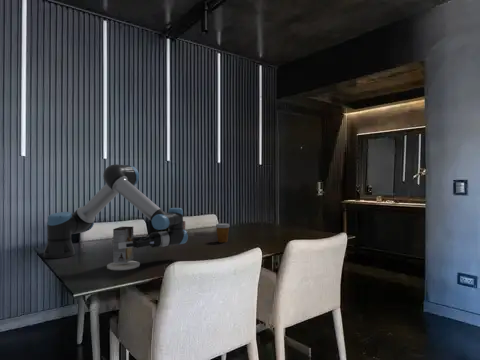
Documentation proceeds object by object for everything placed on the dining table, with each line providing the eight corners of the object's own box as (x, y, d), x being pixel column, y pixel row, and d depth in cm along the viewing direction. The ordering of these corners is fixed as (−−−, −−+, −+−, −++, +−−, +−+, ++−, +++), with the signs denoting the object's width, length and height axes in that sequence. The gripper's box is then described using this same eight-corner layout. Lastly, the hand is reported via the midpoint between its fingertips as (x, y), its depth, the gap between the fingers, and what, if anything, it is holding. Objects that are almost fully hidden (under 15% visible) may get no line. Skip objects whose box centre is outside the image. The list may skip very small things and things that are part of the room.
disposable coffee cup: (231, 240, 238) (231, 223, 238) (227, 243, 229) (227, 225, 229) (218, 240, 241) (218, 222, 241) (213, 242, 232) (213, 224, 232)
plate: (104, 271, 158) (104, 268, 158) (109, 263, 172) (109, 261, 172) (138, 269, 161) (138, 266, 161) (140, 262, 176) (140, 259, 176)
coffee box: (121, 258, 172) (121, 226, 172) (133, 258, 171) (133, 226, 171) (112, 262, 162) (112, 228, 162) (126, 263, 162) (126, 229, 162)
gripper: (168, 250, 169) (123, 256, 155) (149, 243, 187) (107, 248, 173) (168, 234, 169) (123, 239, 155) (149, 229, 187) (107, 233, 173)
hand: (114, 244), depth 164 cm, fingers closed on coffee box, 10 cm apart
